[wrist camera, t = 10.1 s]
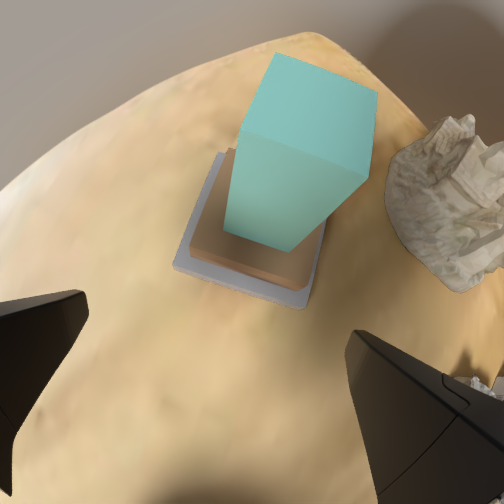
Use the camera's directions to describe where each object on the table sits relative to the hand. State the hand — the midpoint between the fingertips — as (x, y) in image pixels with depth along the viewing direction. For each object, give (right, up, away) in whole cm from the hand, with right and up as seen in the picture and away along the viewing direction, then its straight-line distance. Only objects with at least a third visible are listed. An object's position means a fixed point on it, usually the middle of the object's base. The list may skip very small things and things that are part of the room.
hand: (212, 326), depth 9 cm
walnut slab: (+2, +4, +14) cm, 15 cm away
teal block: (+2, +5, +11) cm, 12 cm away
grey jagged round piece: (+22, +7, +20) cm, 30 cm away
